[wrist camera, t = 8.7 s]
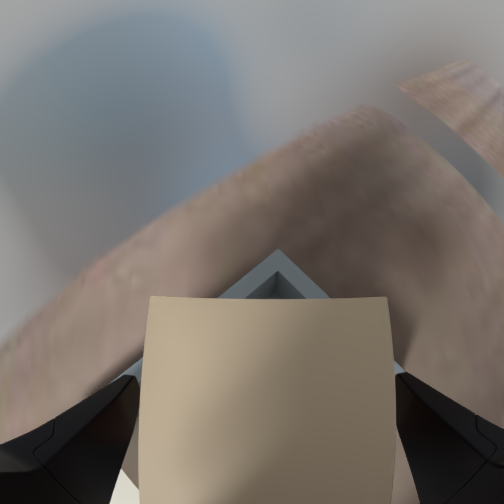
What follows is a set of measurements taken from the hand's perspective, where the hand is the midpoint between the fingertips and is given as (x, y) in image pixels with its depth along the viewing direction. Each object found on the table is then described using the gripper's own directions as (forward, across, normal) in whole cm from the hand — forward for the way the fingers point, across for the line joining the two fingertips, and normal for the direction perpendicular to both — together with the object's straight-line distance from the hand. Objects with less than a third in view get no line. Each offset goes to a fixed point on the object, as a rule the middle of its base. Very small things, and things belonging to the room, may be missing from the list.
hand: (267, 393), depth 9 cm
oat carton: (+6, 0, +6) cm, 9 cm away
